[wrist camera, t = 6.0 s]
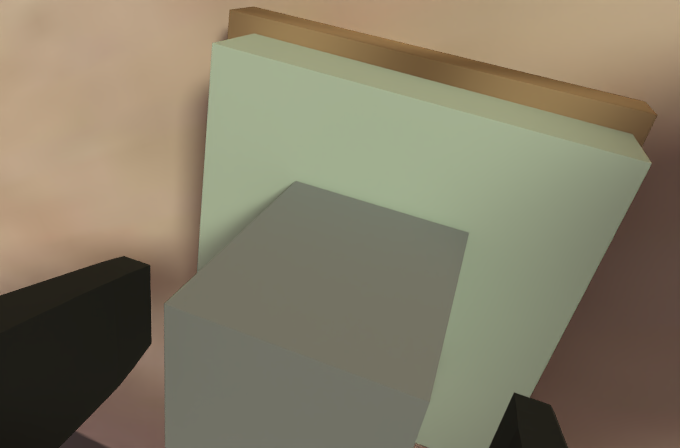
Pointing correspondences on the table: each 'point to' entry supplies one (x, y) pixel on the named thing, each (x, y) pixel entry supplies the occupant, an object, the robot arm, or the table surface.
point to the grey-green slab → (429, 199)
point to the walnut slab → (451, 70)
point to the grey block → (312, 328)
